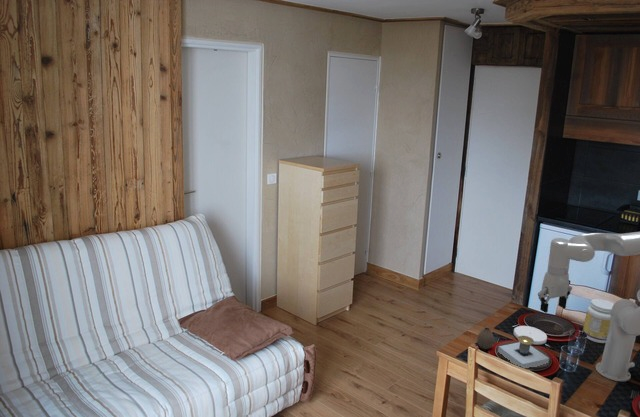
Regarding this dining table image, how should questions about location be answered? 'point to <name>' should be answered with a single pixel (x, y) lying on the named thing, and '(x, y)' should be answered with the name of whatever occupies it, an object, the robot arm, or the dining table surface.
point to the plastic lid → (531, 334)
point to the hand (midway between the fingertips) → (552, 309)
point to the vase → (485, 338)
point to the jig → (517, 359)
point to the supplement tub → (598, 320)
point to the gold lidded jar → (525, 345)
